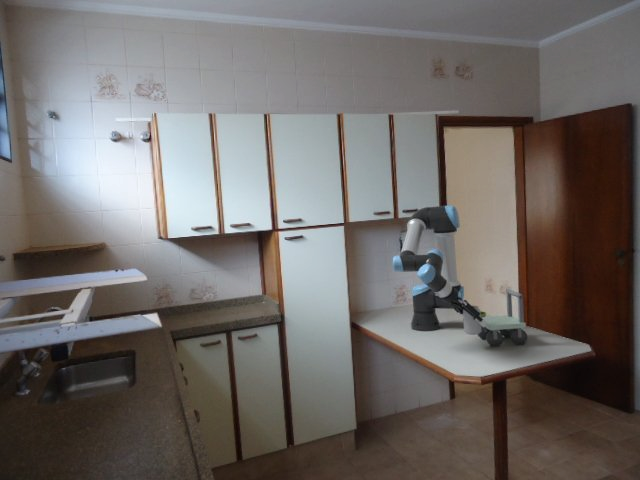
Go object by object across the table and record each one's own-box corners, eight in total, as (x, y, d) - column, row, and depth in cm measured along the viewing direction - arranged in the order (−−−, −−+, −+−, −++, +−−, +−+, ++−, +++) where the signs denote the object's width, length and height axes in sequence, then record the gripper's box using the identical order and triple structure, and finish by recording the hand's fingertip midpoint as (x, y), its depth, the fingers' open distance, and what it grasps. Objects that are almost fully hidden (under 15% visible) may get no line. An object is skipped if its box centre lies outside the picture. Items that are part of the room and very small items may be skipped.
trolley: (476, 338, 220) (473, 291, 219) (513, 335, 221) (511, 288, 219) (488, 348, 204) (486, 297, 203) (528, 345, 205) (526, 294, 203)
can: (482, 331, 207) (481, 304, 207) (480, 335, 200) (479, 308, 200) (465, 330, 210) (463, 304, 210) (463, 334, 204) (461, 308, 203)
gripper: (428, 295, 209) (460, 325, 215) (455, 302, 190) (489, 334, 196) (437, 282, 211) (469, 312, 217) (465, 287, 191) (499, 320, 197)
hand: (478, 322), depth 206 cm, fingers closed on can, 7 cm apart
